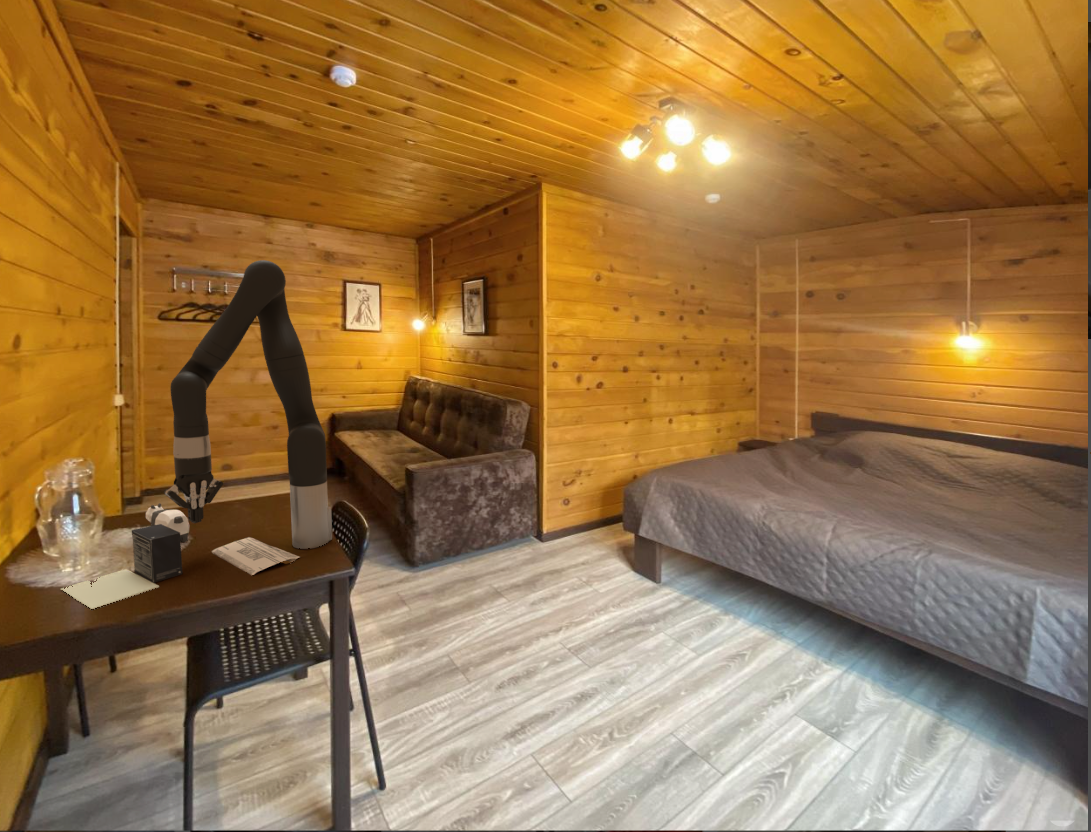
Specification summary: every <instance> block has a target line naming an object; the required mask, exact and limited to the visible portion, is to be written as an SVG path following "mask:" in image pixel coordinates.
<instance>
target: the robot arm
mask: <svg viewBox="0 0 1091 832" xmlns="http://www.w3.org/2000/svg"><path fill="white" fill-rule="evenodd" d="M241 279H242V280H241V281H240V284H239V286H238V288H237V291H235V294H234V296H233V297H232V299H231V300H230V302H229V304H228V305H227V307H226V308H225V309H224V310H223V312H221V314H220V316H218V318H217V320H216V321H215V322H214V323H213V324H212V326H211V327H210V328H209V330H208V331H207V332H206V333H205V334H204V336H203V338H202V339H201V340H200V342H199V343H198V345H197V346H196V348H195V349H194V351H193V352H192V355H191V357H190V358H189V359H188V361H187V362H186V363H185V364H184V366H183V367H182V368H181V369H180V371H179V372H178V373H177V374H176V375H175V377H173V379H172V380H171V382H170V386H169V388H170V398H171V399H170V400H171V405H172V406H171V407H172V411H173V424H172V425H173V445H172V447H173V451H172V452H173V461H174V475H175V478H174V479H173V485H171V487H170V488H169V489H168V488H167V489H164V491H163V494H164V495H165V496H166V497H168V498H169V499H170V500H171V501H172V502H173V503H175V504H176V505H177V506H178V507H180V508H182V509H187V516H188V517H187V519H188V522H189V521H190V522H191V523H192V524H198V523H202V522H203V521H202V520H203V519H204V516H205V515H204V506H205V505H206V504H210V503H212V502H213V500H214V498H215V497H216V496H217V494H218V493H219V491H220V489H221V488H222V486H223V485H224V482H223V481H221V480H217V479H215V478H214V474H213V473H212V470H213V468H212V448H211V446H212V445H211V439H210V435H209V434H210V430H209V429H210V427H209V418H208V415H207V390H208V388H209V386H210V385H211V384H212V382H213V380H215V378H216V376H217V374H218V373H219V372H220V371H221V370H222V369H223V368H224V367H225V365H226V364H227V363H228V362H229V360H230V359H231V357H232V356H233V354H234V353H235V351H236V350H237V349H238V346H240V344H241V342H242V340H243V339H244V337H245V335H246V333H247V331H248V330H249V329H250V327H251V325H252V324H253V322H254V321H255V320H256V318H257V319H258V323H259V329H260V338H261V339H260V340H261V345H262V349H263V350H262V351H263V355H264V360H265V363H266V366H267V370H268V371H267V372H268V374H269V377H270V379H271V383H272V385H273V387H274V390H275V392H276V394H277V396H278V398H279V400H280V402H281V405H282V407H283V410H284V414H285V419H286V423H287V424H286V425H287V432H288V436H287V441H286V448H287V449H286V451H287V455H286V456H287V468H288V469H287V471H288V477H289V480H288V481H289V497H290V498H289V499H290V501H289V502H290V518H291V519H290V520H291V522H290V523H291V541H292V542H291V543H292V546H293V548H295V549H299V548H300V549H301V550H309V549H308V548H310V549H316V548H320V547H322V545H323V546H325V545H327V544H328V543H329V542H330V541H331V540H333V525H332V522H333V520H332V507H331V506H329V502H328V501H329V500H328V499H329V498H328V472H327V470H328V468H327V444H326V443H327V442H326V434H325V432H324V431H325V430H324V429H323V427H322V424H321V422H320V419H319V417H318V414H317V412H316V409H315V405H314V401H313V397H312V386H311V380H310V373H309V369H308V364H307V360H306V357H305V354H304V350H303V347H302V344H301V342H300V339H299V336H298V334H297V331H296V330H295V326H294V325H293V323H292V320H291V318H290V315H289V310H288V305H287V298H286V291H285V287H286V282H287V281H286V276H285V274H284V271H283V270H282V268H281V267H280V266H279V265H278V264H277V263H274V262H272V261H270V260H264V259H261V260H260V259H259V260H256V261H254V262H251V263H250V264H249V265H247V267H246V268H245V270H244V273H243V276H242V278H241ZM179 493H182V494H183V496H184V499H185V500H184V499H183V498H182V497H181V496H180V495H179ZM326 543H327V544H326ZM324 544H325V545H324ZM319 546H320V547H319Z"/></svg>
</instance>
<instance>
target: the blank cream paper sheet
mask: <svg viewBox="0 0 1091 832" xmlns="http://www.w3.org/2000/svg"><path fill="white" fill-rule="evenodd" d="M99 577H100V578H99ZM97 578H98V579H97V581H96V579H95V580H94V581H96V582H94V583H93V582H92V585H91V584H90V583H91V582H90V581H88V580H84V581H81V582H78V583H74V584H72V586H73V587H72V586H71V585H69V587H68V586H66V588H65V589H64V587H61V588H60V591H61V590H63V591H64V592H66V593H67V594H66V593H65V594H66V595H68V594H69V595H70V596H69V595H68V596H69V597H71V596H72V597H73V598H72V597H71V598H72V599H74V600H75V599H76V601H77V602H78V601H79V602H78V603H80V602H81V603H80V604H82V605H83V604H84V605H83V606H85V605H86V606H87V607H86V606H85V607H86V608H88V607H89V608H90V609H89V608H88V609H89V610H91V609H94V610H96V609H95V608H97V607H100V608H102V607H101V606H103V605H106V606H108V605H107V604H109V605H111V604H110V603H112V604H114V603H113V602H115V603H117V602H116V601H118V602H120V601H122V599H123V600H126V599H129V598H132V597H134V595H135V596H138V595H140V593H141V594H144V593H146V591H147V592H150V591H153V590H155V588H156V589H158V588H160V585H158V584H156V583H152V582H150V581H149V580H147V579H145V578H144V577H142V576H140V575H139V574H137V573H136V572H134V571H133V572H132V571H131V570H129V569H126V568H124V569H121V570H118V571H115V572H111V573H108V574H104V575H102V576H98V577H97ZM91 586H92V587H91ZM67 587H68V588H67ZM152 589H153V590H152ZM149 590H150V591H149ZM63 591H62V592H63ZM64 592H63V593H64ZM143 592H144V593H143ZM131 596H132V597H131ZM128 597H129V598H128ZM125 598H126V599H125ZM119 600H120V601H119ZM103 607H104V606H103ZM97 609H98V608H97Z"/></svg>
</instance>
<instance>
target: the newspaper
mask: <svg viewBox="0 0 1091 832" xmlns="http://www.w3.org/2000/svg"><path fill="white" fill-rule="evenodd" d="M211 553H212V554H213V555H215V556H216V557H218V558H220V559H222V560H223V561H225V562H227V563H228V564H231V565H233V566H234V567H236V568H238V569H240V570H241V571H243V572H245V573H246V572H247V573H246V574H248V575H250V576H252V575H254V576H255V575H256V574H257V573H259V572H260V571H264V570H265V569H267V568H269V567H272V566H275V565H277V564H279V563H280V562H283V561H289V562H293V561H294V562H295V561H296V560H297V559H298V558H300V556H299V555H296V554H294V553H291V552H289V551H286V550H284V549H281V548H278V547H276V546H272V545H269V544H267V543H264V542H262V541H260V540H258V539H256V538H253V537H250V536H248V537H245V538H242V539H239V540H234V541H233V542H230V543H227V544H225V545H222V546H219V547H216V548H214V549H213V550H211ZM294 562H293V563H294ZM280 564H281V563H280Z"/></svg>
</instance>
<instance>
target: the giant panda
mask: <svg viewBox="0 0 1091 832" xmlns="http://www.w3.org/2000/svg"><path fill="white" fill-rule="evenodd" d="M145 519H146V520H147V521H148V522H149V523H150V526H154V525H158V524H162V525H164V526H166V527H169V528H171V529H173V530H175V531H178V532H180V540H181V543H187V541H188V539H189V538H188V536H189V532H190V523H189V519H188V517H187V516H186V515H185V514H184V512H182V511H181V510H179V509H168V508H166V509H164V508H163V507H162V503H158V504H157V505H153V504H151V506H150V507H148V509H147V510H146V511H145Z"/></svg>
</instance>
